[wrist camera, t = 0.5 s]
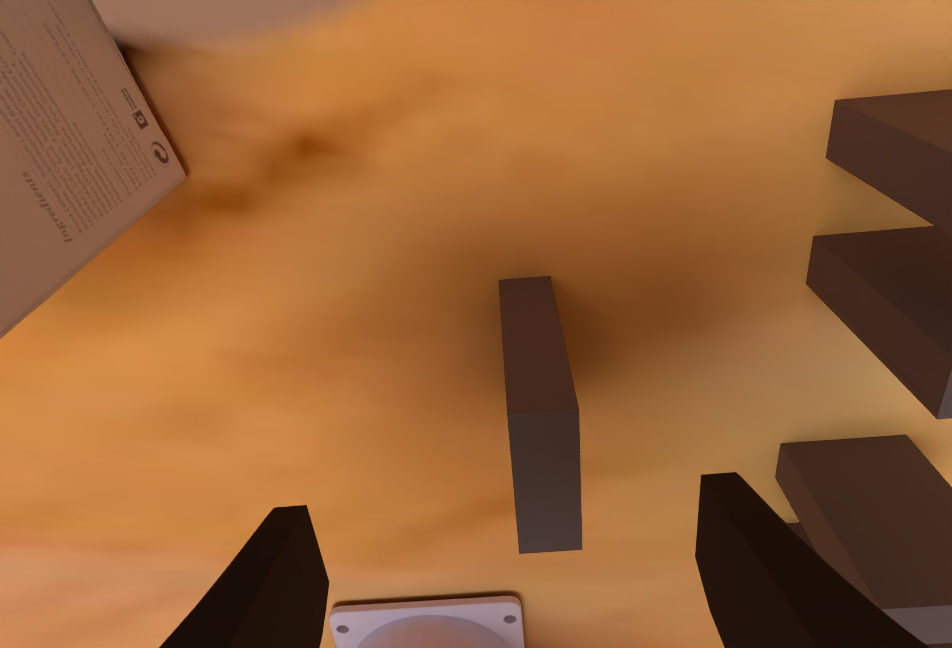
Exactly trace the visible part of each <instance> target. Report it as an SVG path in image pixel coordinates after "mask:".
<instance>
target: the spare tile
mask: <svg viewBox="0 0 952 648" xmlns="http://www.w3.org/2000/svg"><path fill="white" fill-rule="evenodd" d="M499 295H500V310H501V325H502V341H503V356H504V371H505V386H506V401H507V416H508V428H509V439H510V451H511V463H512V474H513V486H514V497H515V509H516V521H517V532H518V544H519V554H524V553H539V552H555V551H570V550H582V518H581V475H580V431H579V407H578V403H577V398H576V394H575V389H574V385H573V380H572V376H571V371H570V366H569V362H568V357H567V353H566V348H565V344H564V339H563V334H562V330H561V325H560V321H559V316H558V312H557V307H556V303H555V298H554V293H553V289H552V284H551V280H550V276H542V277H530V278H518V279H506V280H499Z"/></svg>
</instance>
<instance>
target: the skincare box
mask: <svg viewBox="0 0 952 648" xmlns="http://www.w3.org/2000/svg"><path fill="white" fill-rule="evenodd" d="M184 180H185V172H184V170H183V168H182V166H181V164H180V162H179V160H178V159H177V157H176V155H175V153H174V151H173V149H172V147H171V146H170V144H169V142H168V140H167V138H166V137H165V135H164V134H163V132H162V131H161V129H160V127H159V125H158V123H157V121H156V120H155V118H154V116H153V114H152V112H151V110H150V108H149V107H148V105H147V103H146V101H145V99H144V97H143V95H142V93H141V91H140V90H139V88H138V86H137V84H136V82H135V80H134V79H133V77H132V75H131V73H130V70H129V69H128V67H127V65H126V63H125V61H124V58H123V56H122V54H121V53H120V51H119V49H118V48H117V46H116V44H115V42H114V40H113V38H112V37H111V35H110V33H109V31H108V29H107V27H106V26H105V24H104V22H103V20H102V18H101V16H100V14H99V13H98V11H97V9H96V8H95V6H94V4H93V2H92V0H0V339H1V338H2V337H3V336H4V335H6V334H7V333H8V332H9V331H10V330H11V329H13V328H14V327H15V326H16V325H17V324H18V323H19V322H21V321H22V320H23V319H24V318H25V317H26V316H28V315H29V314H30V313H31V312H32V311H33V310H35V309H36V308H37V307H38V306H39V305H41V304H42V303H43V302H44V301H45V300H46V299H48V298H49V297H50V296H51V295H52V294H53V293H55V292H56V291H57V290H58V289H59V288H60V287H61V286H63V285H64V284H65V283H66V282H67V281H68V280H69V279H71V278H72V277H73V276H74V275H75V274H76V273H77V272H79V271H80V270H81V269H82V268H83V267H84V266H86V265H87V264H88V263H89V262H90V261H91V260H92V259H94V258H95V257H96V256H97V255H98V254H99V253H100V252H102V251H103V250H104V249H105V248H106V247H107V246H108V245H110V244H111V243H112V242H113V241H114V240H115V239H117V238H118V237H119V236H120V235H121V234H122V233H123V232H125V231H126V230H127V229H128V228H129V227H130V226H132V225H133V224H134V223H135V222H136V221H137V220H138V219H140V218H141V217H142V216H143V215H144V214H145V213H146V212H147V211H149V210H150V209H151V208H152V207H154V206H155V205H156V204H157V203H158V202H159V201H160V200H162V199H163V198H164V197H165V196H166V195H167V194H168V193H169V192H171V191H172V190H173V189H174V188H175V187H177V186H178V185H179V184H180V183H181V182H182V181H184Z"/></svg>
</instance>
